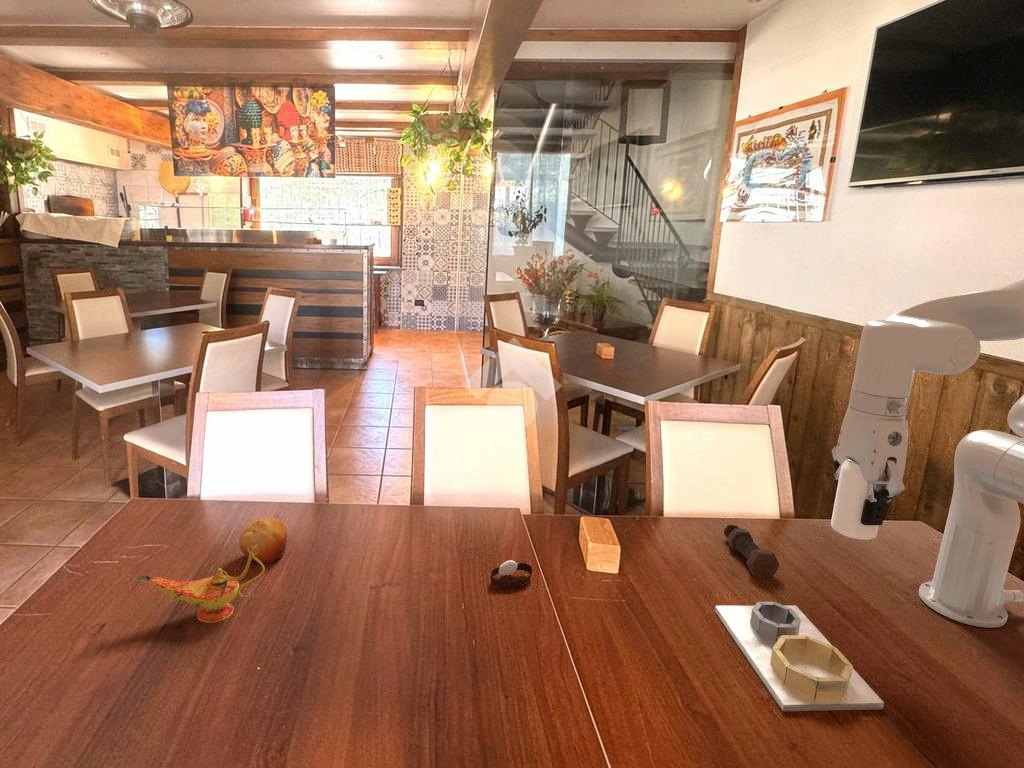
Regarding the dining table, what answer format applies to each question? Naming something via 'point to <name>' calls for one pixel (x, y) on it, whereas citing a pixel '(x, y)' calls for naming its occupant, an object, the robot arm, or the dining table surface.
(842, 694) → the plate
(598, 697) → the dining table surface
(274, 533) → the fruit
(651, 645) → the dining table surface
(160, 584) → the magic lamp
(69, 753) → the dining table surface
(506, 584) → the watch
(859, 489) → the can
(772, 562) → the bolt
